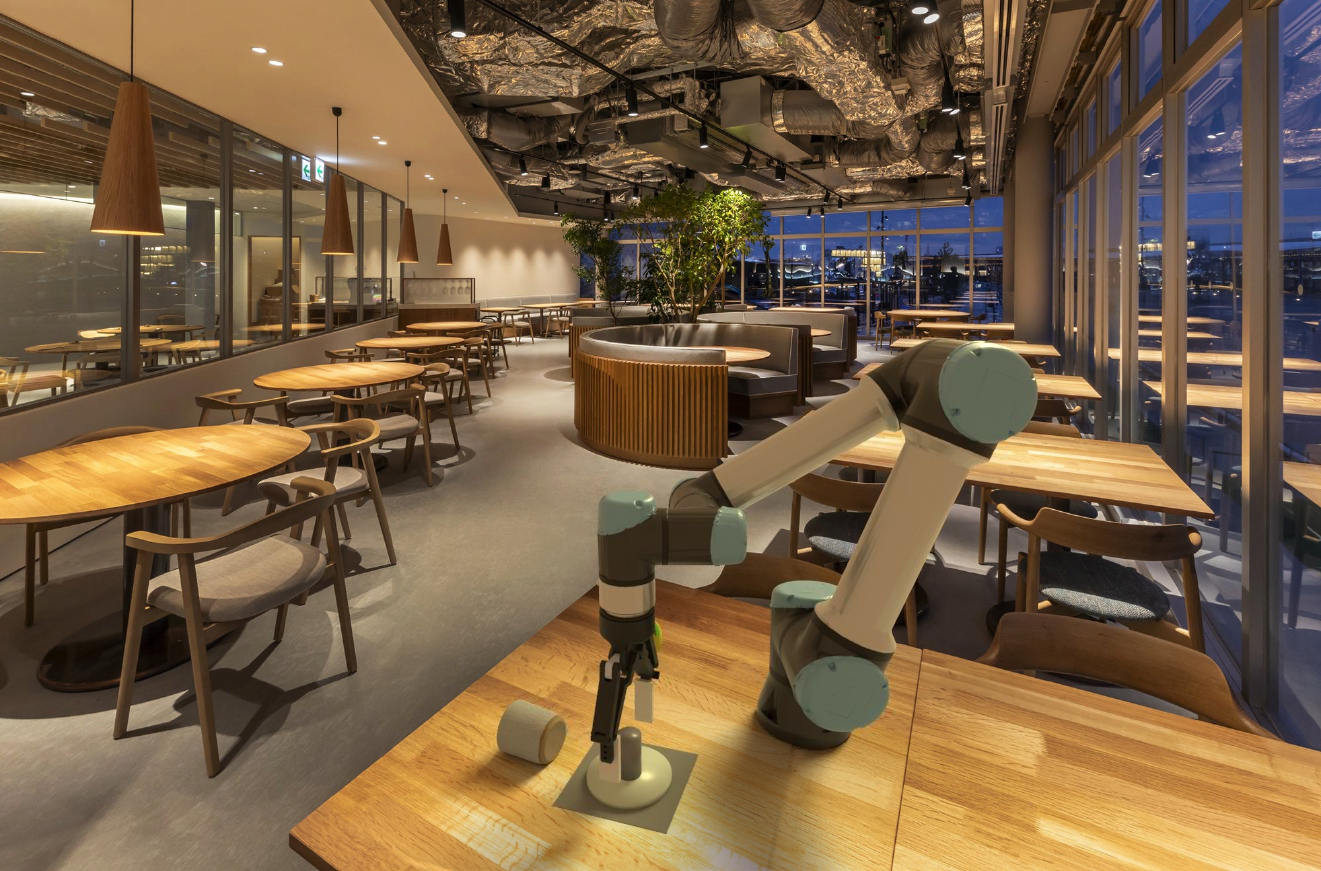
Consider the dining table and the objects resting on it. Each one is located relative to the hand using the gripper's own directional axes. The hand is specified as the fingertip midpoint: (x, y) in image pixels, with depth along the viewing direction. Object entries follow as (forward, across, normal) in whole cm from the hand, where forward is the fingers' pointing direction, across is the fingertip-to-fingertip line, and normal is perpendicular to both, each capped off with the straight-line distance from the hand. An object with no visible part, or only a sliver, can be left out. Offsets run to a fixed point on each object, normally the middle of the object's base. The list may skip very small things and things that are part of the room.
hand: (628, 748), depth 94 cm
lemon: (+6, -34, -9) cm, 36 cm away
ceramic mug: (+6, -3, -16) cm, 17 cm away
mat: (+5, 0, 0) cm, 5 cm away
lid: (+5, 0, 0) cm, 5 cm away
